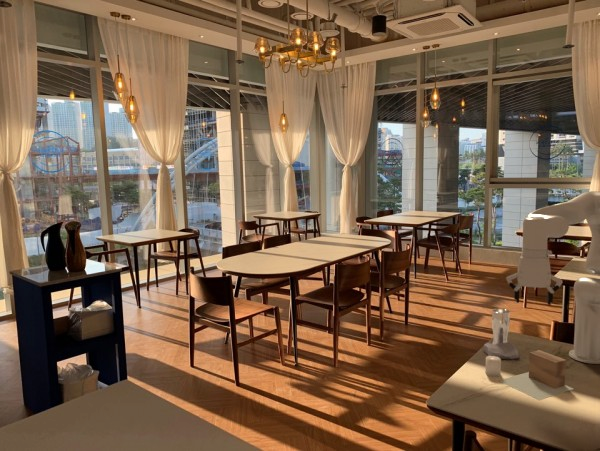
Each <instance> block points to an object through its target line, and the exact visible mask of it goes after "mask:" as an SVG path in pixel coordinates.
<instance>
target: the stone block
mask: <svg viewBox="0 0 600 451" xmlns="http://www.w3.org/2000/svg"><path fill="white" fill-rule="evenodd" d="M482 351H483V352H484V353H485V354H486V355H487V356H496V357H499V358H500V359H501V360H508V359H509V360H514V359H515V360H516V359H519V358H520V356H519V351H518V349H517V347H516V346H515V344H513V343H511V342H508V341H507V342H506V343H499V344H492V343H491V342H485V343H484V345H483V347H482Z"/></svg>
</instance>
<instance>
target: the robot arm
mask: <svg viewBox="0 0 600 451" xmlns="http://www.w3.org/2000/svg"><path fill="white" fill-rule="evenodd" d="M585 220H586V223H587V224H588V227H589V229H590V234H591V241H590V245H589V248H588V253H587V256H586V260H585V265H584V266H585V270H586V272H587V273H589V274H591V275H594V276H600V191H593V190H592V191H586V192H583V193H581V194H579V195H577V196H576V197H574V198H571V199H570V200H568V201H565V202H561V203H557V204H556V203H555V204H552V205H548V206H544V207H541V208H538V209H536V210H534V211H532V212H530V213H529V214H527V215H526V216H525V217H524V219H523V223H522V249H521V250H522V254H521V256H519V258H518V264H517V272H515V273H513V274H511V275H508V276H506V277H505V279H506V281H507V284H508V285H509V287H511V289H513V291H514V295H513V296H514V297H513V298H514V299H513V300H516V303H517V304H518V303H520V289H521V288H522V287H526V288H541V289H542V288H545V289H547V294H546V296H547V297H546V299H547V300H546V303H547V305H548V306H551V304H552V303H553V301H554V293H555V292H557V291H558V290H559V289H560V287H561V286H562V284H563V280H562V279H560V278H559V277H557V276H555V275H552V269H551V263H550V262H551V261H550V258H549V257H548V256H552V255H553V251H552V250H549V249H548V238H554V239H556V238H562V237H564V236H565V235H566V234H567V233H568V231H569V229H570V225H577V224H579V223H582V222H583V221H585ZM515 279H516V282H517V283H515V284H514V283H513V281H512V280H515ZM552 281H554V282H556V283H555V284H554V285H553V286H551V285H552ZM573 294H574V300H575V317H574V335H573V336H574V337H573V349H570V351H568V356H569V357H570V358H571V359H573V360H575V361H577V362H582V363H586V364H592V365H593V364H594V365H600V278H597V277H591V276H590V277H589V276H584V277H583V276H582V277H579V278H577V280H575V282H574V285H573Z"/></svg>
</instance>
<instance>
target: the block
mask: <svg viewBox="0 0 600 451" xmlns="http://www.w3.org/2000/svg"><path fill="white" fill-rule="evenodd" d="M528 358H529V359H528V360H529V362H528V372H529V378H532V379H534V380H536V381H538V382H541V383H543V384H545V385H548V386H550V387H552V388H554V389H555V388H558V387H562V386H565V384H566V383H565V382H566V366H567V364H566V363H567V359H564V358H562V357H560V356H556V355H554V354H551V353H549V352H546V351H543V350H540V349H538V350H533V351H530V352H529V357H528Z"/></svg>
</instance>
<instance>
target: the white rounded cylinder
mask: <svg viewBox="0 0 600 451" xmlns="http://www.w3.org/2000/svg"><path fill="white" fill-rule="evenodd" d="M501 366H502V359H500V358H499V357H496V356H488V355H487V356H485V372H484V373H485V374H486V375H487V376H490V377H500V376H501V371H502V370H501V369H502V368H501Z"/></svg>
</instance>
